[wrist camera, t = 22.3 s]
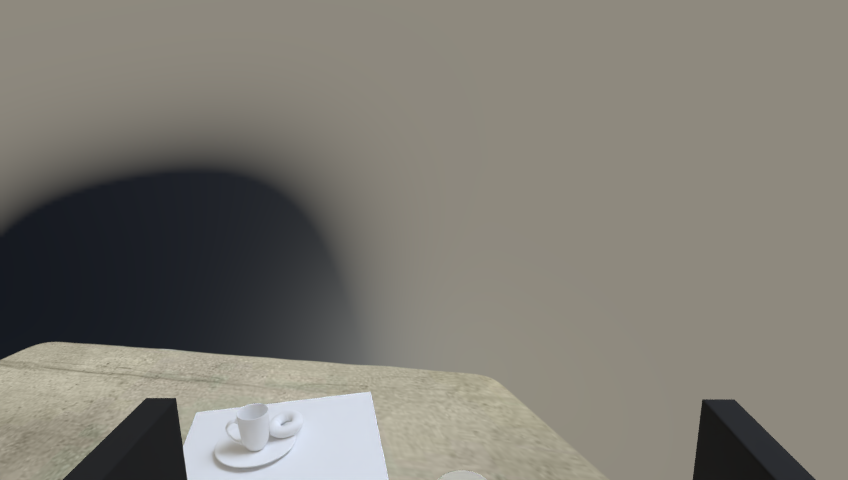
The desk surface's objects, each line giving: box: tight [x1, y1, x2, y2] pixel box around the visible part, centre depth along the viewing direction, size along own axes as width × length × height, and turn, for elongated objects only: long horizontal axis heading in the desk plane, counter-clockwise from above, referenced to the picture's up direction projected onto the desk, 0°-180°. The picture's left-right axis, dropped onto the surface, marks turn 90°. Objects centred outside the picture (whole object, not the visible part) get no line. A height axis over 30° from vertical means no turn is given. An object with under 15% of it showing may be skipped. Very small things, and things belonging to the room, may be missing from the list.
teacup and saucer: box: [213, 403, 305, 469], centre depth 54 cm, size 9×8×4 cm
